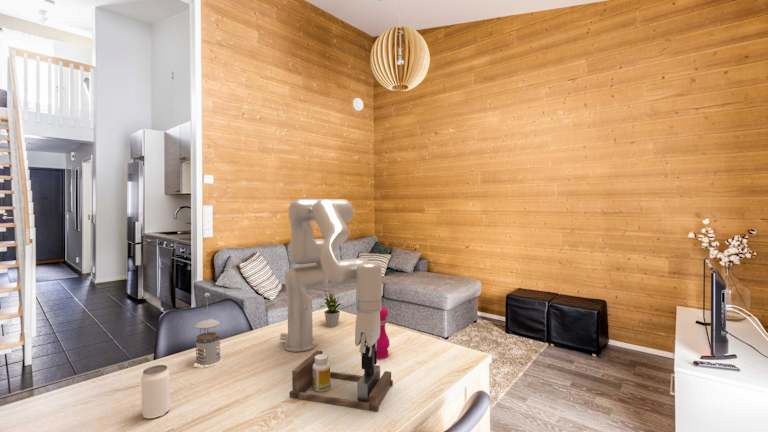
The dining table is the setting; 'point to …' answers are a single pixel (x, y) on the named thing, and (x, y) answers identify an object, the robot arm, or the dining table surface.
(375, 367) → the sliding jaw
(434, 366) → the dining table surface
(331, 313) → the house plant
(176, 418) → the dining table surface
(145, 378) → the can
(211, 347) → the french press
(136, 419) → the dining table surface
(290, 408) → the dining table surface
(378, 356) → the pepper mill
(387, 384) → the vise frame
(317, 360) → the supplement bottle
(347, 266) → the robot arm
